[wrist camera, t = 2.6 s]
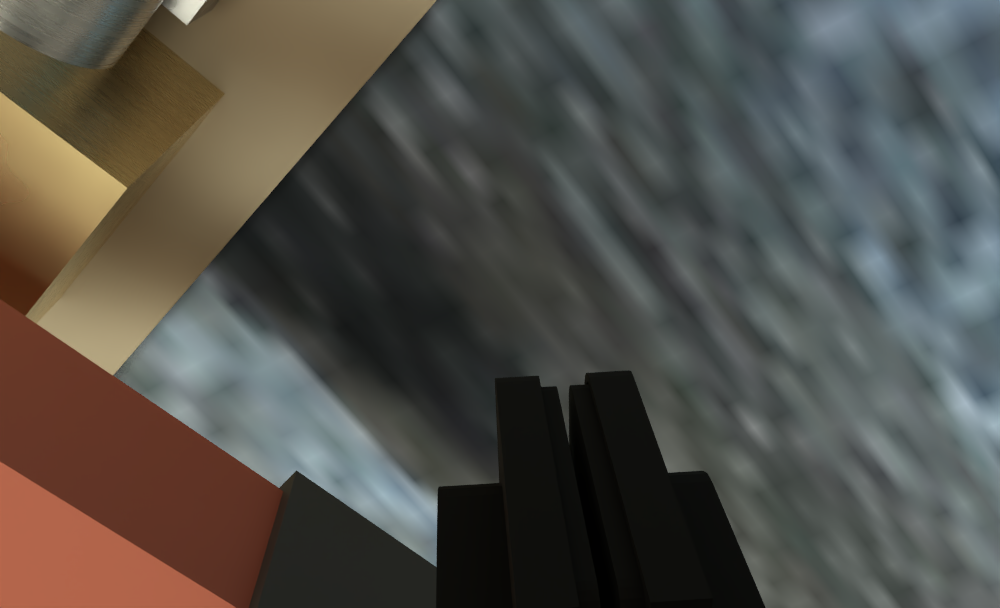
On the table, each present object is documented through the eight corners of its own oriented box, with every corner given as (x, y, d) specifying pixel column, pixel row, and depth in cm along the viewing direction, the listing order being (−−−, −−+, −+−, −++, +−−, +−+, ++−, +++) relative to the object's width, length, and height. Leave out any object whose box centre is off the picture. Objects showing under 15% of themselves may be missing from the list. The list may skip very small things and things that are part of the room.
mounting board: (51, -572, 18) (17, -608, 16) (516, -99, 21) (519, -97, 20) (-411, 238, 24) (-463, 261, 23) (7, 493, 28) (-17, 525, 27)
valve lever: (-367, 202, 15) (-649, 319, 11) (-268, 31, 14) (-543, 97, 10) (393, 681, 20) (376, 874, 16) (511, 581, 19) (520, 764, 15)
